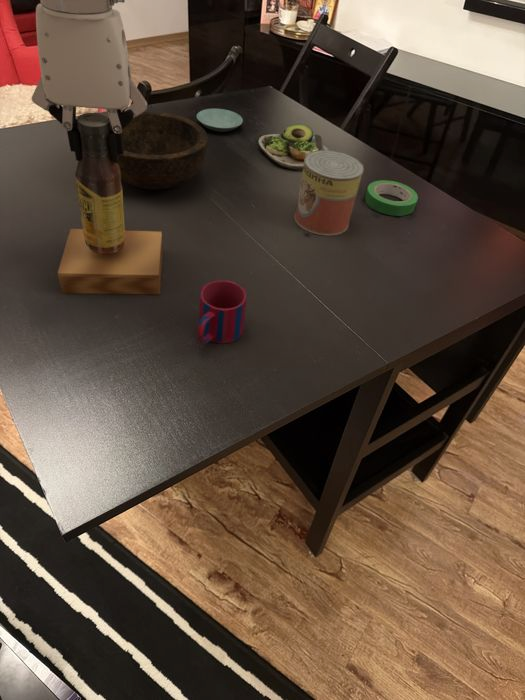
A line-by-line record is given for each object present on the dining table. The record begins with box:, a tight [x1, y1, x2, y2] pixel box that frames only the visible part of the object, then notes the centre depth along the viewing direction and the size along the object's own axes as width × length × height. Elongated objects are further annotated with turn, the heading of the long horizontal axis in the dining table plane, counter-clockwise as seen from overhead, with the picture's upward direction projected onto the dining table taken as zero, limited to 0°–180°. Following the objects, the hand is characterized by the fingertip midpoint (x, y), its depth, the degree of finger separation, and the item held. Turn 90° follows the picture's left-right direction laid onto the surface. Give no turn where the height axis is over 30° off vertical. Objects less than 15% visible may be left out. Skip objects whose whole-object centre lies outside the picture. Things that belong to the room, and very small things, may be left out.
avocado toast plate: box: [257, 123, 329, 171], centre depth 115 cm, size 19×18×5 cm
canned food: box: [294, 149, 365, 237], centre depth 94 cm, size 11×11×12 cm
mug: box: [196, 279, 248, 344], centre depth 70 cm, size 7×10×7 cm
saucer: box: [196, 108, 244, 133], centre depth 123 cm, size 12×12×2 cm
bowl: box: [107, 110, 209, 190], centre depth 98 cm, size 22×22×10 cm
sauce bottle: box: [74, 112, 126, 254], centre depth 69 cm, size 6×6×20 cm
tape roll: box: [364, 179, 419, 217], centre depth 105 cm, size 11×11×3 cm
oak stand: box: [57, 228, 164, 295], centre depth 79 cm, size 15×12×4 cm
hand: (98, 156), depth 66 cm, fingers closed on sauce bottle, 4 cm apart
